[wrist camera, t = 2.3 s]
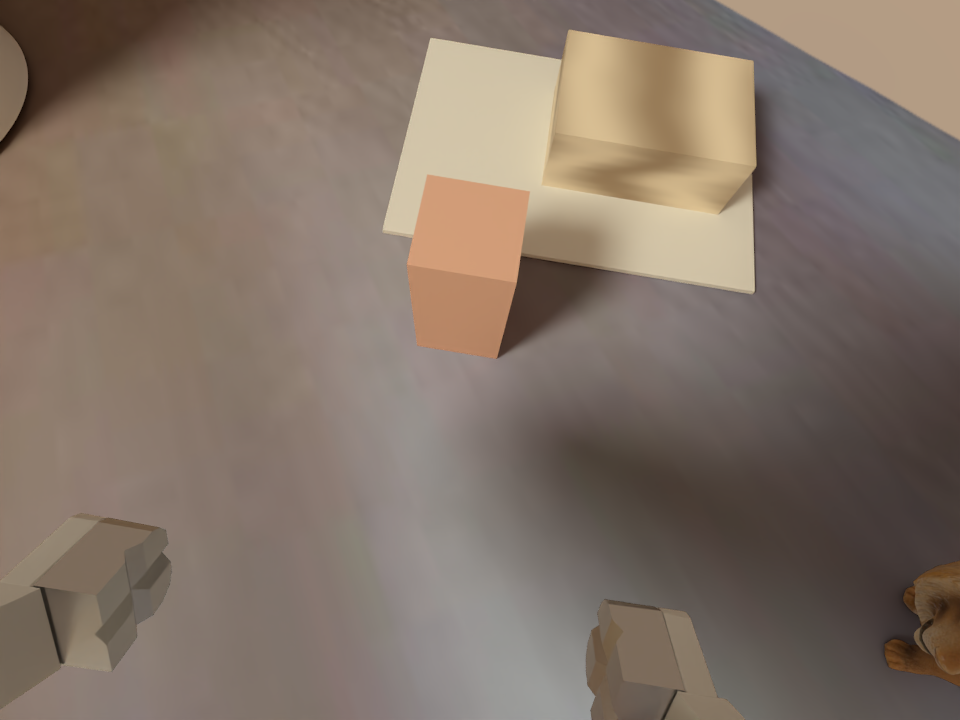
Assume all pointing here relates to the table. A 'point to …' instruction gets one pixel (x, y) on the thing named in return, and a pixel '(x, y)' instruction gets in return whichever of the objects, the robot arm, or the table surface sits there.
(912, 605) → the lion figurine
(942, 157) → the table surface
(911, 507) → the table surface
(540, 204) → the mat
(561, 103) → the plinth
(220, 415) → the table surface
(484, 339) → the pillar
